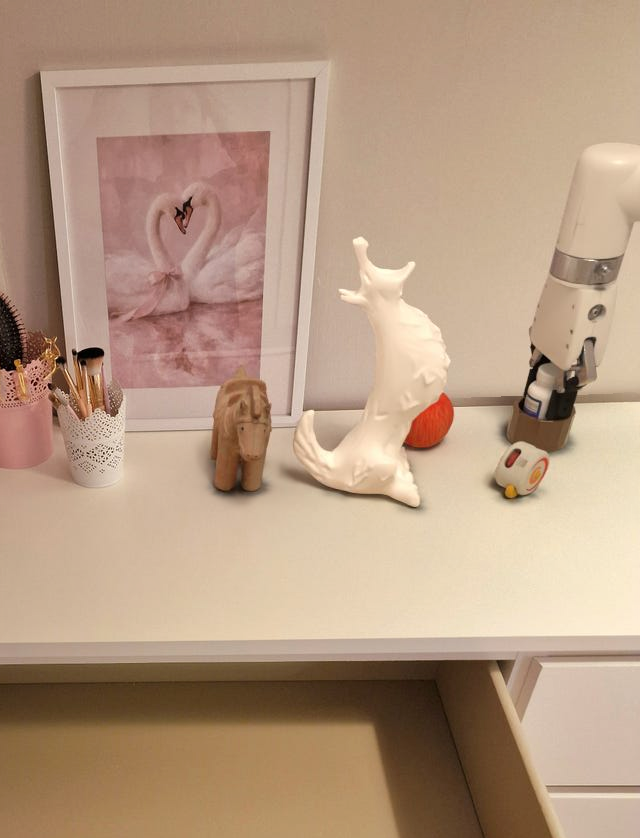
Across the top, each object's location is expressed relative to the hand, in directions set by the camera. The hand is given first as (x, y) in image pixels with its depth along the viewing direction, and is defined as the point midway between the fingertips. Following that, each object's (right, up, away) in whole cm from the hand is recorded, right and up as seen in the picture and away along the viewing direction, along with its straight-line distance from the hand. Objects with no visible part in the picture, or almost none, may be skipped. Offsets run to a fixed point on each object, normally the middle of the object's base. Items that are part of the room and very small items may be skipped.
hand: (546, 405), depth 114 cm
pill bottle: (0, -3, +3) cm, 4 cm away
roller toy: (-6, -12, -5) cm, 15 cm away
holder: (0, -3, +3) cm, 5 cm away
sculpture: (-26, -11, -3) cm, 28 cm away
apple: (-16, -4, +4) cm, 17 cm away
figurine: (-40, -10, -2) cm, 42 cm away
